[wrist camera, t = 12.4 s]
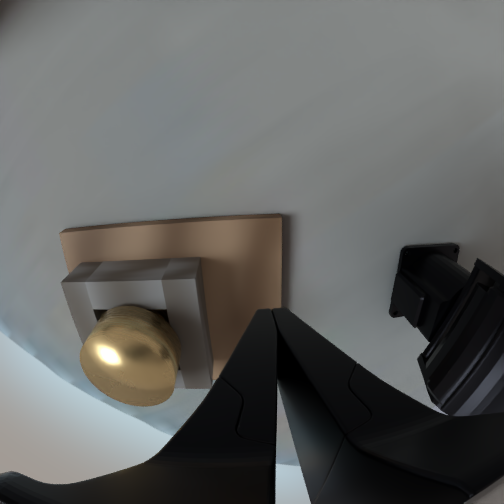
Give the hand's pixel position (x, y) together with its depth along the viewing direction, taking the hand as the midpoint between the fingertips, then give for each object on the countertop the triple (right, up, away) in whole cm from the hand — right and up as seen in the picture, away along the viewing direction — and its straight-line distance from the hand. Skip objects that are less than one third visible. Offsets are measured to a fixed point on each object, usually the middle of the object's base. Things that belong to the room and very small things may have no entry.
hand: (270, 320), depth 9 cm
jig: (-6, -2, +13) cm, 15 cm away
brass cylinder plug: (-8, -3, +12) cm, 15 cm away
